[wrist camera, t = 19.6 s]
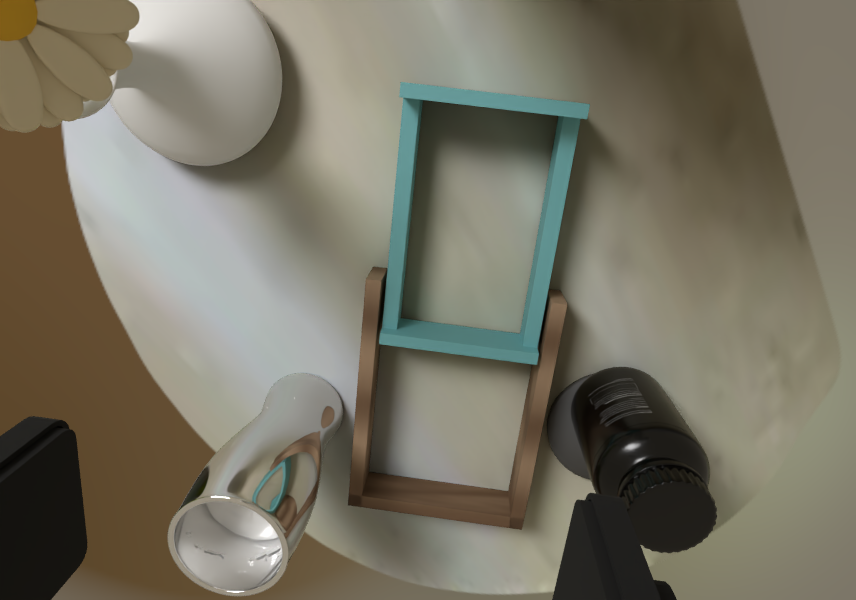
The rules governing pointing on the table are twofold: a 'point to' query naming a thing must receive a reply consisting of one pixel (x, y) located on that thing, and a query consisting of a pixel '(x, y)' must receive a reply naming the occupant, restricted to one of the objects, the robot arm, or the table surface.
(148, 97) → the flower in vase
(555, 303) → the walnut cubby
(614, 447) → the supplement bottle
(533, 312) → the teal drawer
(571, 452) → the coaster
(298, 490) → the beer glass
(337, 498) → the table surface
